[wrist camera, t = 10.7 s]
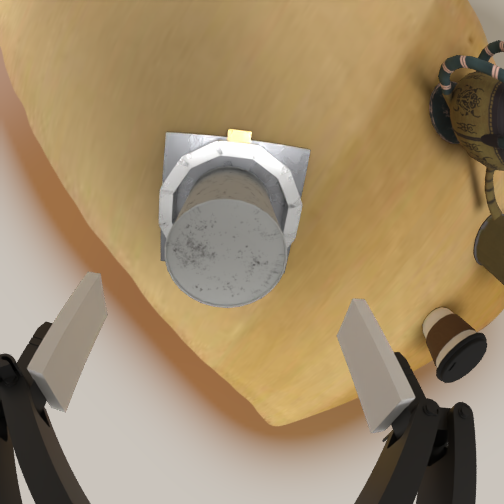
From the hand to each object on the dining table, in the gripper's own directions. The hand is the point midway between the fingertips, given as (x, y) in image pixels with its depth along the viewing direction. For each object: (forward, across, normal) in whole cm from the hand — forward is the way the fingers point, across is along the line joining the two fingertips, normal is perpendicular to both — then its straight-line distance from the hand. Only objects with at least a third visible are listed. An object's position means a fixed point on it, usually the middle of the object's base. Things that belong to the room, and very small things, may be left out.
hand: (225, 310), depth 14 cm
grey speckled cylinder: (+21, 0, -2) cm, 21 cm away
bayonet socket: (+21, 0, -2) cm, 21 cm away
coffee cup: (+21, +40, -18) cm, 49 cm away
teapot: (+22, +30, +14) cm, 40 cm away
